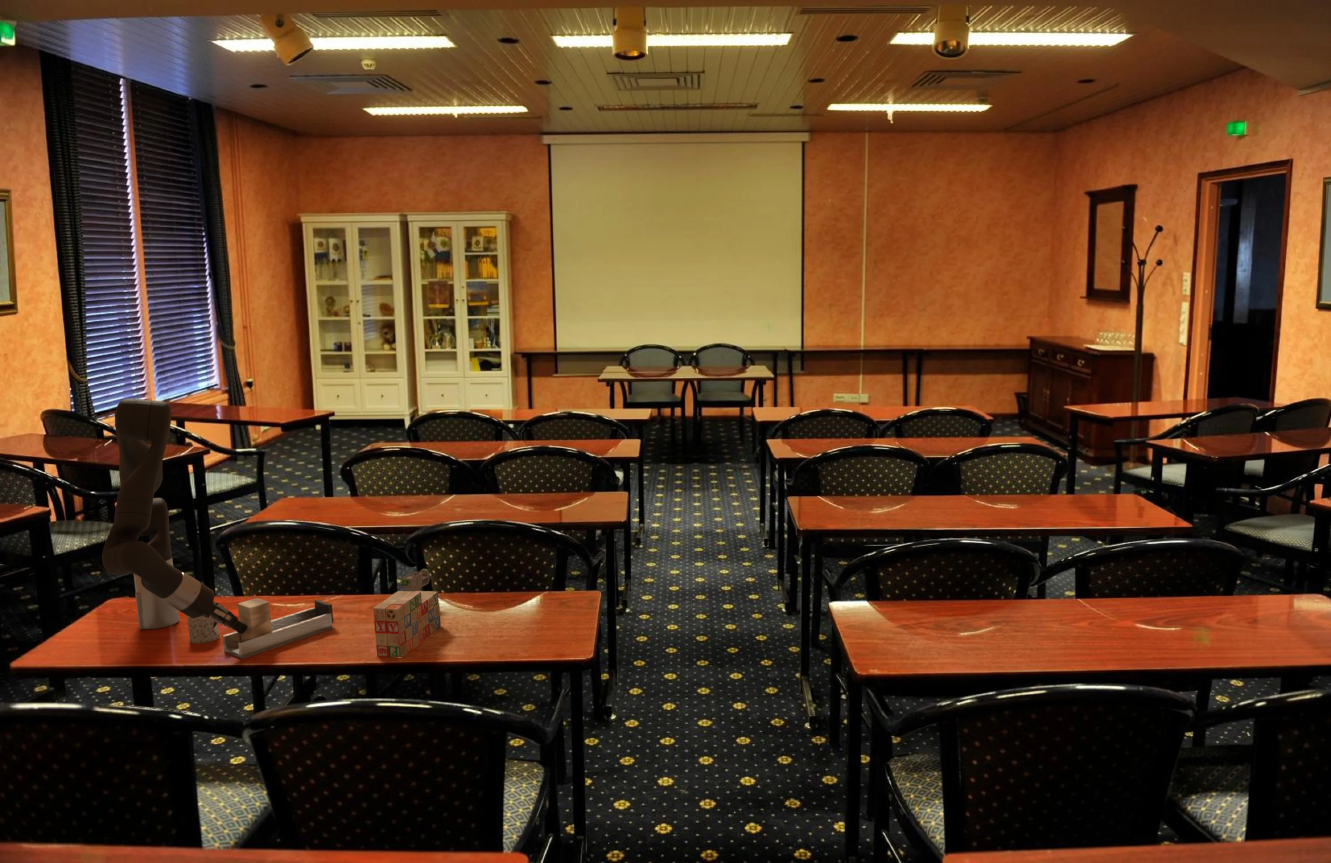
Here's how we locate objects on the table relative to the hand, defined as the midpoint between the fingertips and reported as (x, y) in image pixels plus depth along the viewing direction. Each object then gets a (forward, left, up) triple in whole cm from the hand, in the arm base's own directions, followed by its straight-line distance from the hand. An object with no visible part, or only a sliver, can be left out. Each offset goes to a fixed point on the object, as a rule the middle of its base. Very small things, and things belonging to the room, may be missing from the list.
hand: (243, 629), depth 233 cm
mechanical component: (+43, +8, -6) cm, 44 cm away
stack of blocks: (+36, -14, -6) cm, 39 cm away
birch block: (+3, +1, -4) cm, 5 cm away
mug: (-9, +16, -6) cm, 19 cm away
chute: (+8, +4, -5) cm, 10 cm away
